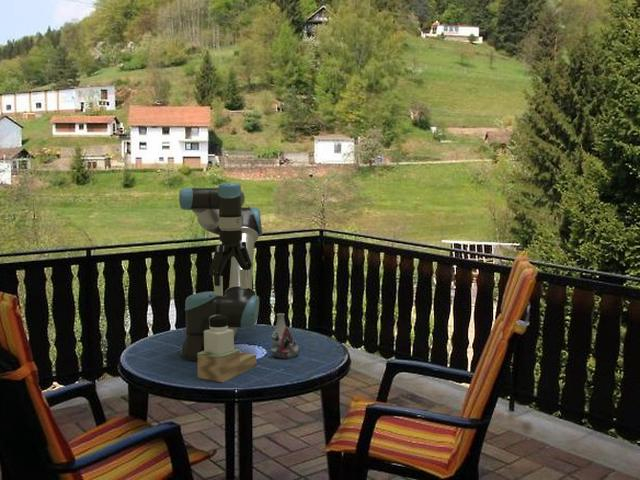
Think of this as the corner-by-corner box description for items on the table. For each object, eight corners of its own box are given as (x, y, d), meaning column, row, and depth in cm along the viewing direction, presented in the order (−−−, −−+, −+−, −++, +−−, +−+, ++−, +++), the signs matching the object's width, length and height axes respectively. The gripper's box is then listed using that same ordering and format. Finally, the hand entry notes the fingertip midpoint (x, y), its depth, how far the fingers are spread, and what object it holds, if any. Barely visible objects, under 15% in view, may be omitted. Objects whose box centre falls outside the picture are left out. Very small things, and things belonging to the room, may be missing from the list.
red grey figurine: (297, 355, 228) (278, 327, 230) (275, 370, 232) (256, 343, 234) (308, 347, 239) (290, 320, 241) (287, 362, 243) (269, 336, 244)
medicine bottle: (234, 350, 212) (233, 315, 211) (218, 355, 207) (217, 319, 206) (220, 347, 217) (219, 312, 216) (203, 351, 211) (202, 316, 210)
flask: (293, 337, 263) (292, 313, 262) (283, 341, 257) (282, 316, 256) (278, 335, 267) (278, 311, 266) (268, 338, 261) (268, 314, 260)
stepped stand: (197, 377, 211) (197, 353, 210) (232, 362, 228) (232, 339, 228) (222, 382, 206) (222, 356, 205) (256, 365, 224) (256, 342, 223)
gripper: (215, 233, 201) (216, 299, 204) (261, 226, 223) (262, 286, 225) (197, 232, 205) (198, 297, 207) (244, 225, 226) (245, 284, 229)
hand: (231, 291), depth 216 cm, fingers open, 13 cm apart
